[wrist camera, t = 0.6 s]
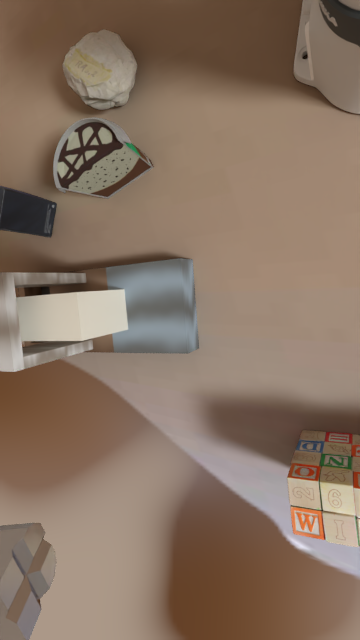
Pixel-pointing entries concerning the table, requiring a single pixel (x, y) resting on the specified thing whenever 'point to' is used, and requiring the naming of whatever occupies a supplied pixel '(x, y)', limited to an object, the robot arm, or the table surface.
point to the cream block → (72, 315)
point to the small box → (26, 213)
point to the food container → (97, 159)
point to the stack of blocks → (326, 487)
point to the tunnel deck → (141, 306)
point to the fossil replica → (101, 70)
